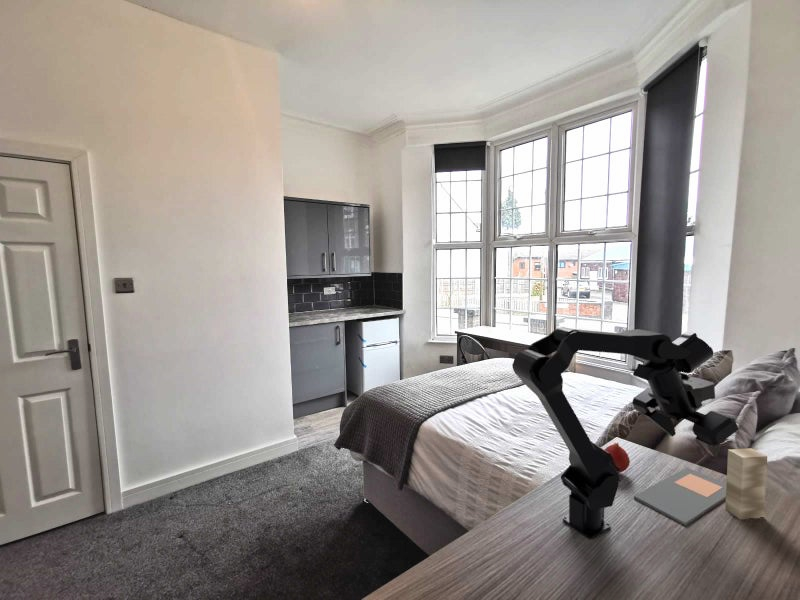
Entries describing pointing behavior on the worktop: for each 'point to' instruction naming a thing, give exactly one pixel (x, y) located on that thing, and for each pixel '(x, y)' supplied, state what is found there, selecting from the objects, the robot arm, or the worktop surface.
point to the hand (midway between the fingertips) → (693, 444)
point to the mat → (684, 495)
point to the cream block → (746, 483)
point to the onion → (619, 456)
